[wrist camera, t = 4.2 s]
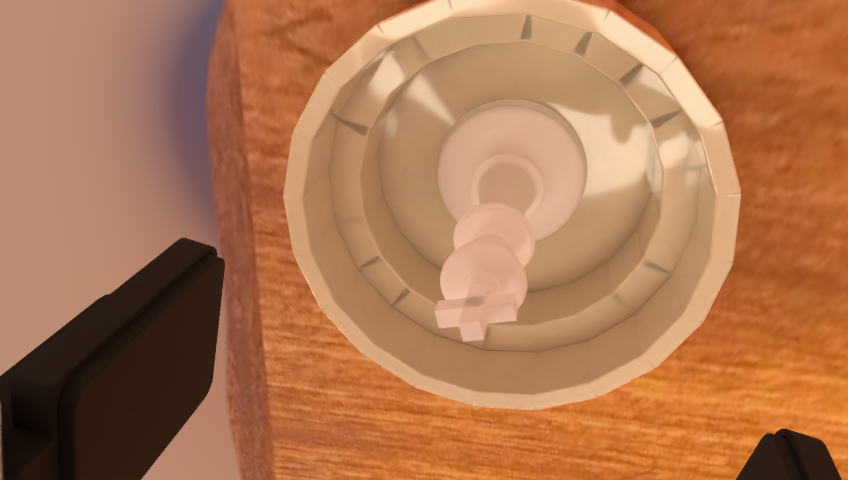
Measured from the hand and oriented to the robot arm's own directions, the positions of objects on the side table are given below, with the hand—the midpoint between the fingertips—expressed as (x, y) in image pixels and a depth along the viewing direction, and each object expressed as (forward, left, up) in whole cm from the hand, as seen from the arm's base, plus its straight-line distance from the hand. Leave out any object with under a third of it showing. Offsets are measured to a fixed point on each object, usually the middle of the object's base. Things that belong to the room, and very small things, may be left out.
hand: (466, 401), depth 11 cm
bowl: (0, 0, -13) cm, 13 cm away
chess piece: (0, 0, -13) cm, 13 cm away
